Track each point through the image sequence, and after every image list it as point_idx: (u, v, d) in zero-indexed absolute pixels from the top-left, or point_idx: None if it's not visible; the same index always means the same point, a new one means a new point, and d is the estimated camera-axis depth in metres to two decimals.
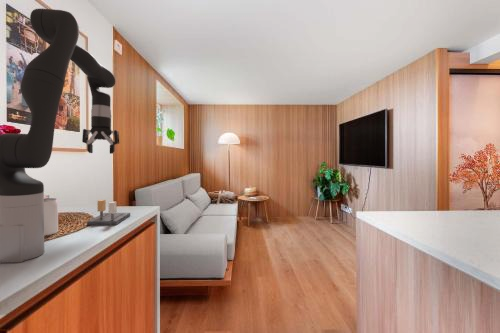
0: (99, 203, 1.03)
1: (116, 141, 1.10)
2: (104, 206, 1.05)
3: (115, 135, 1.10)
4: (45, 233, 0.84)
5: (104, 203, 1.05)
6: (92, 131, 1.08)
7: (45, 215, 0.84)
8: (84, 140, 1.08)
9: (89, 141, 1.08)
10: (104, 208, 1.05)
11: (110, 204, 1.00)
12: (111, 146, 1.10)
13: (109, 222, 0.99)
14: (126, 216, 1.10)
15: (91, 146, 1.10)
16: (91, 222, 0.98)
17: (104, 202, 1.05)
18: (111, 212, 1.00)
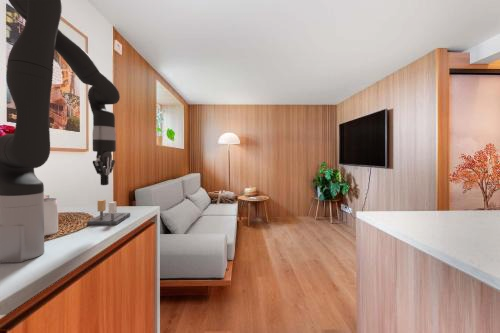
0: (99, 203, 1.03)
1: (111, 170, 0.97)
2: (104, 206, 1.05)
3: (113, 164, 0.98)
4: (45, 233, 0.84)
5: (104, 203, 1.05)
6: (103, 157, 0.91)
7: (45, 215, 0.84)
8: (104, 171, 0.92)
9: (107, 171, 0.94)
10: (104, 208, 1.05)
11: (110, 204, 1.00)
12: None
13: (109, 222, 0.99)
14: (126, 216, 1.10)
15: None
16: (91, 222, 0.98)
17: (104, 202, 1.05)
18: (111, 212, 1.00)
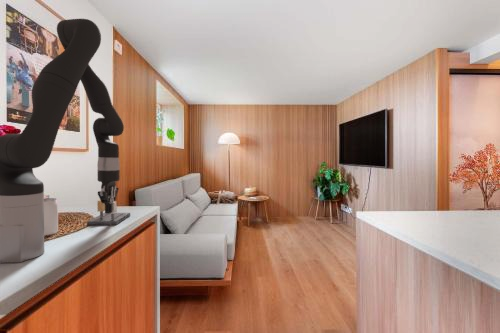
0: (99, 203, 1.03)
1: (115, 198, 1.01)
2: (104, 206, 1.05)
3: (116, 192, 1.02)
4: (45, 233, 0.84)
5: None
6: (108, 187, 0.94)
7: (45, 215, 0.84)
8: (109, 200, 0.95)
9: (111, 200, 0.97)
10: (104, 208, 1.05)
11: None
12: (112, 204, 0.98)
13: (109, 222, 0.99)
14: (126, 216, 1.10)
15: None
16: (91, 222, 0.98)
17: None
18: None
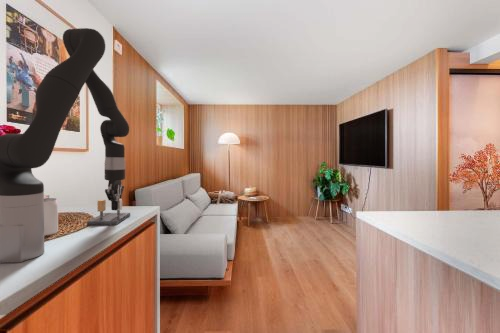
0: (99, 203, 1.03)
1: None
2: (104, 206, 1.05)
3: (122, 190, 1.08)
4: (45, 233, 0.84)
5: (104, 203, 1.05)
6: (114, 185, 1.00)
7: (45, 215, 0.84)
8: (115, 198, 1.01)
9: (117, 198, 1.03)
10: (104, 208, 1.05)
11: None
12: None
13: (109, 222, 0.99)
14: (126, 216, 1.10)
15: None
16: (91, 222, 0.98)
17: (104, 202, 1.05)
18: None
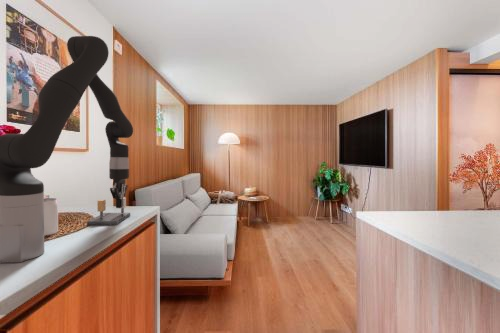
0: (99, 203, 1.03)
1: (124, 194, 1.10)
2: (104, 206, 1.05)
3: (126, 189, 1.12)
4: (45, 233, 0.84)
5: (104, 203, 1.05)
6: (119, 184, 1.04)
7: (45, 215, 0.84)
8: (119, 196, 1.05)
9: (121, 196, 1.07)
10: (104, 208, 1.05)
11: None
12: None
13: (109, 222, 0.99)
14: (126, 216, 1.10)
15: None
16: (91, 222, 0.98)
17: (104, 202, 1.05)
18: None
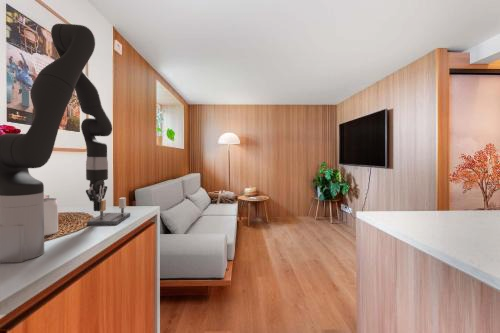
0: None
1: (103, 196, 1.04)
2: (104, 206, 1.05)
3: (105, 191, 1.05)
4: (45, 233, 0.84)
5: (104, 203, 1.05)
6: (96, 185, 0.98)
7: (45, 215, 0.84)
8: (97, 198, 0.99)
9: (100, 198, 1.01)
10: (104, 208, 1.05)
11: (120, 200, 1.10)
12: (100, 202, 1.02)
13: (109, 222, 0.99)
14: (126, 216, 1.10)
15: None
16: (91, 222, 0.98)
17: (104, 202, 1.05)
18: (121, 207, 1.10)
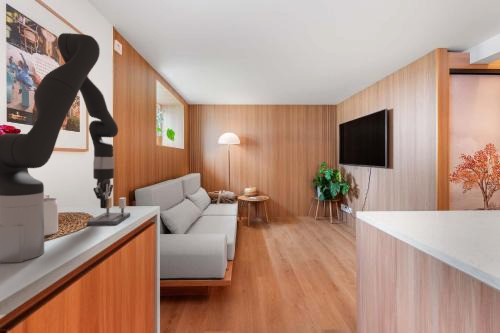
0: None
1: (110, 194, 1.09)
2: (110, 203, 1.11)
3: (111, 189, 1.11)
4: (45, 233, 0.84)
5: (110, 201, 1.11)
6: (103, 184, 1.03)
7: (45, 215, 0.84)
8: (104, 196, 1.04)
9: (106, 196, 1.06)
10: (110, 206, 1.11)
11: (120, 200, 1.10)
12: (106, 200, 1.07)
13: (109, 222, 0.99)
14: (126, 216, 1.10)
15: None
16: (91, 222, 0.98)
17: (110, 200, 1.11)
18: (121, 207, 1.10)
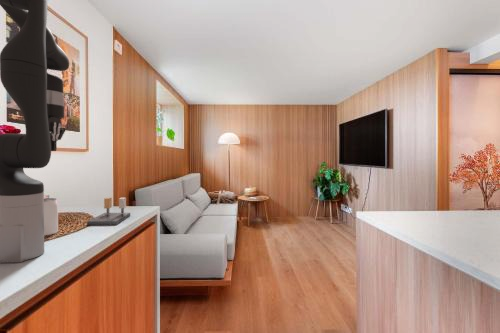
0: (106, 200, 1.09)
1: (60, 137, 0.96)
2: (110, 203, 1.11)
3: (62, 132, 0.98)
4: (45, 233, 0.84)
5: (110, 201, 1.11)
6: (49, 121, 0.90)
7: (45, 215, 0.84)
8: (51, 136, 0.91)
9: (54, 137, 0.93)
10: (110, 206, 1.11)
11: (120, 200, 1.10)
12: (55, 142, 0.94)
13: (109, 222, 0.99)
14: (126, 216, 1.10)
15: None
16: (91, 222, 0.98)
17: (110, 200, 1.11)
18: (121, 207, 1.10)
